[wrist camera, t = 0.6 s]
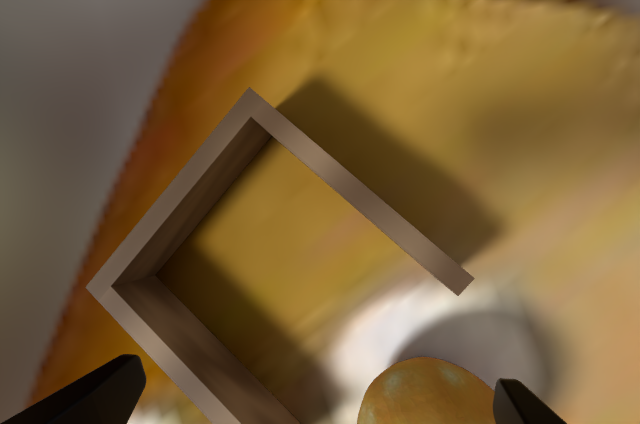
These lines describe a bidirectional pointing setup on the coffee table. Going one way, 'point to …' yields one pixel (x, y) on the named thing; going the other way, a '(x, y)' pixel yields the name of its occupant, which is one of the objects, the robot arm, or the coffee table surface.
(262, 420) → the tray
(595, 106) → the coffee table surface
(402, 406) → the fruit
